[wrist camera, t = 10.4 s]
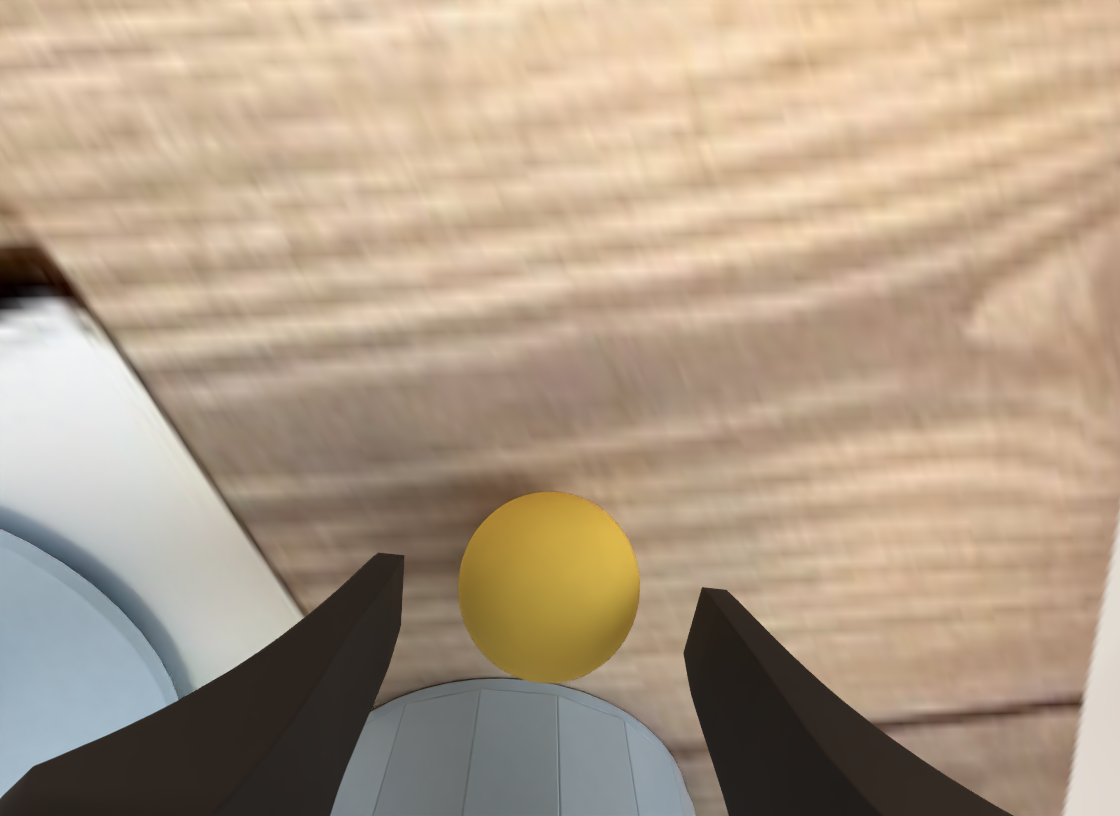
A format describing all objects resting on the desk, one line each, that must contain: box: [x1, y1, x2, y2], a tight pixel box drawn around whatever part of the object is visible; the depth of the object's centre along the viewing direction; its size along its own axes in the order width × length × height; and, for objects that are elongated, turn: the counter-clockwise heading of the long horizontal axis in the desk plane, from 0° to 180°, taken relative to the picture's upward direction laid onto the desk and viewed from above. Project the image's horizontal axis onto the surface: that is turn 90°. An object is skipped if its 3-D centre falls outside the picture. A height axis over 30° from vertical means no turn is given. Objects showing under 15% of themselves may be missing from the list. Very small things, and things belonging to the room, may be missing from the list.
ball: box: [458, 491, 640, 683], centre depth 13 cm, size 5×5×5 cm
